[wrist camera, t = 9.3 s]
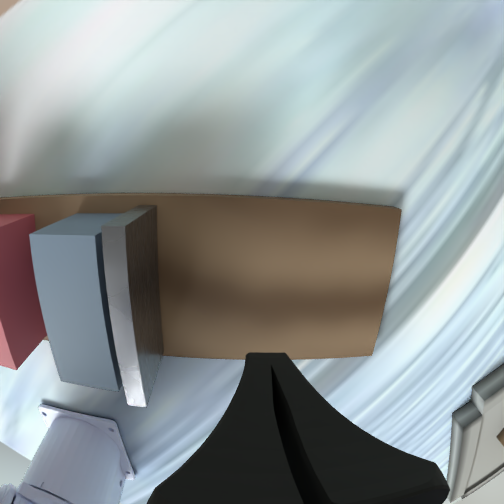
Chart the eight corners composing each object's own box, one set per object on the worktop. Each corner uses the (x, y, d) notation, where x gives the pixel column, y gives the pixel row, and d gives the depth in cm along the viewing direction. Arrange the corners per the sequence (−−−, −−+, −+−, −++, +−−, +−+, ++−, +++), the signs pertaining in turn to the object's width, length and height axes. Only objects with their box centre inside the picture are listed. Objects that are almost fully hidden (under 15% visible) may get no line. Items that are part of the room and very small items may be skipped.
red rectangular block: (51, 329, 18) (16, 370, 13) (15, 322, 18) (-21, 358, 13) (34, 213, 16) (-17, 233, 11) (-3, 214, 16) (-53, 232, 11)
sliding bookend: (164, 351, 19) (146, 407, 14) (148, 349, 19) (127, 404, 14) (156, 205, 16) (124, 226, 11) (139, 204, 16) (101, 225, 11)
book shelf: (366, 347, 21) (407, 413, 14) (-11, 320, 19) (-59, 364, 12) (393, 206, 18) (464, 233, 11) (-32, 200, 16) (-97, 221, 9)
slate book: (141, 340, 19) (118, 391, 14) (92, 335, 18) (61, 381, 14) (131, 213, 16) (94, 235, 12) (76, 213, 16) (29, 234, 11)
